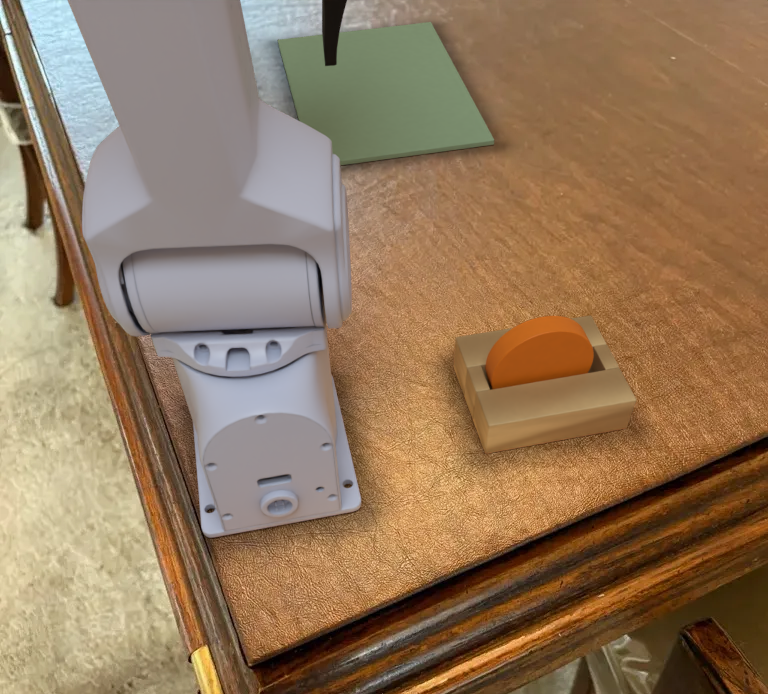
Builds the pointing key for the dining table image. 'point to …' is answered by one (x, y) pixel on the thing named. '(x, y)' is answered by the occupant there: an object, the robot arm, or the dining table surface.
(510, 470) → the dining table surface
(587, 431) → the holder
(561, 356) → the disc
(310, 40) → the mat
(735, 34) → the dining table surface
